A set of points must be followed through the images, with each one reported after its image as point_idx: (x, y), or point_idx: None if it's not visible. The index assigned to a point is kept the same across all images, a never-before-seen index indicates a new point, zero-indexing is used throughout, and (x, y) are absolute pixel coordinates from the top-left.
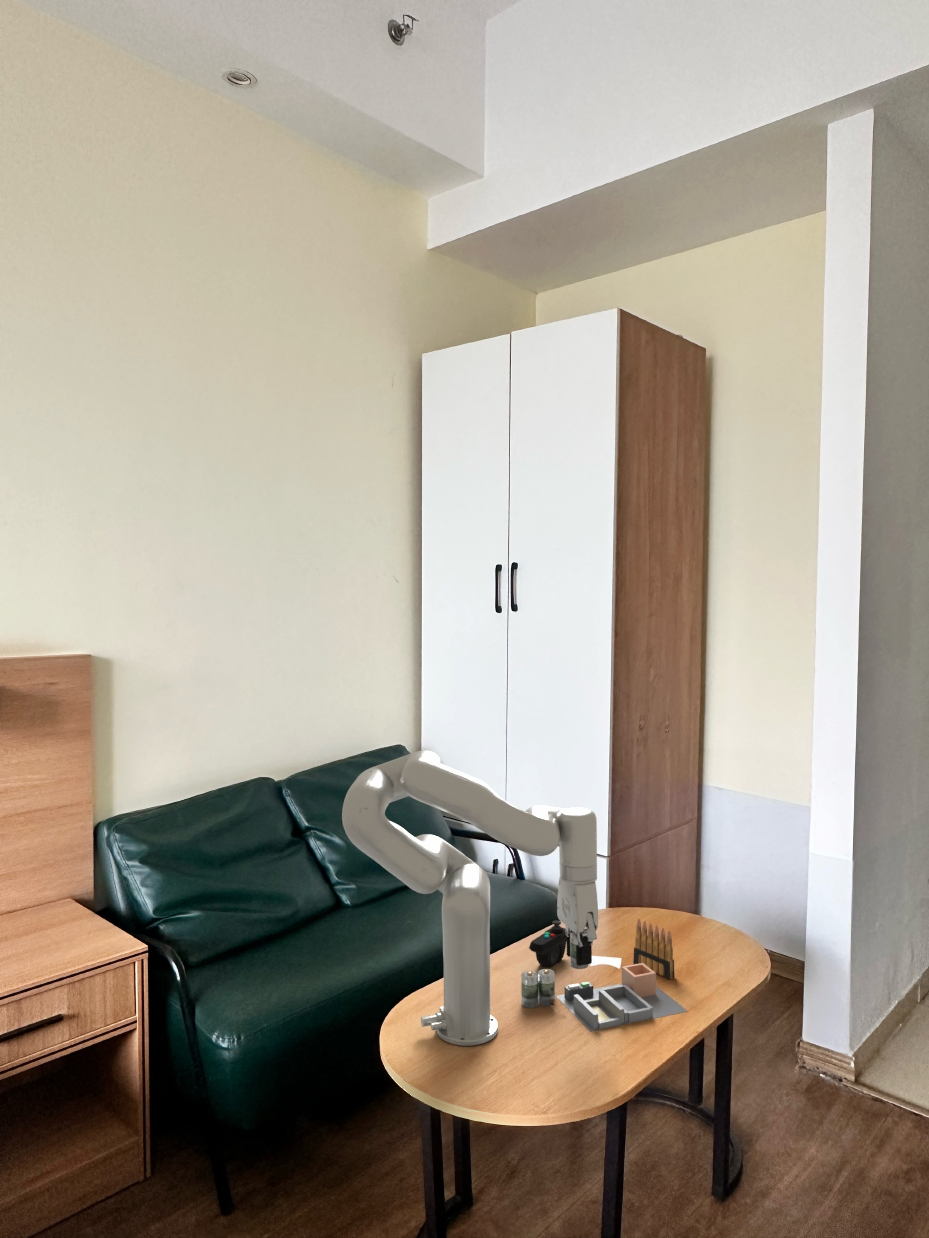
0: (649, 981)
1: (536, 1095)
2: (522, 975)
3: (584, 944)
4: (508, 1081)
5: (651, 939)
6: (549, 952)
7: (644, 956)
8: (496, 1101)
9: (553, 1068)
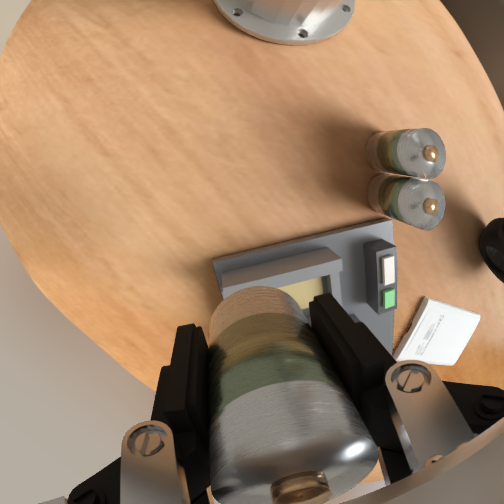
0: None
1: (21, 106)
2: (426, 130)
3: (110, 464)
4: (67, 52)
5: None
6: (500, 246)
7: None
8: (25, 41)
9: (89, 144)
